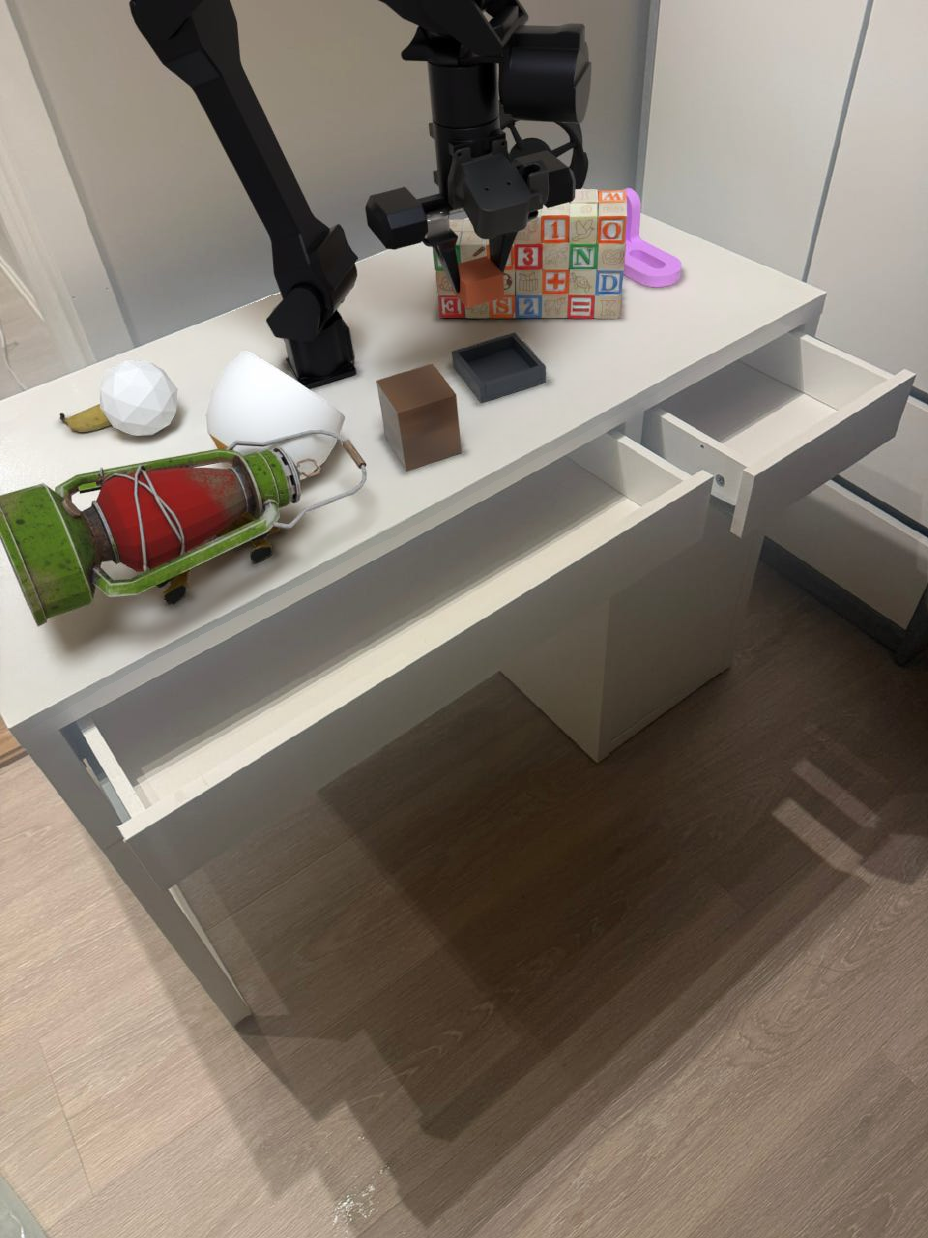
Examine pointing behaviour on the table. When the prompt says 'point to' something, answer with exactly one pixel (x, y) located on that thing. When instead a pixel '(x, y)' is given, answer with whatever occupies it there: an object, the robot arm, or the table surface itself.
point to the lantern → (146, 521)
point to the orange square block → (479, 282)
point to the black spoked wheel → (537, 145)
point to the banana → (87, 420)
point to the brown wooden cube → (419, 416)
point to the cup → (270, 412)
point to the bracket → (646, 252)
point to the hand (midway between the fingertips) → (476, 285)
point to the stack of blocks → (552, 262)
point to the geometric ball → (138, 397)
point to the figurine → (260, 542)
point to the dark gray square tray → (498, 367)
